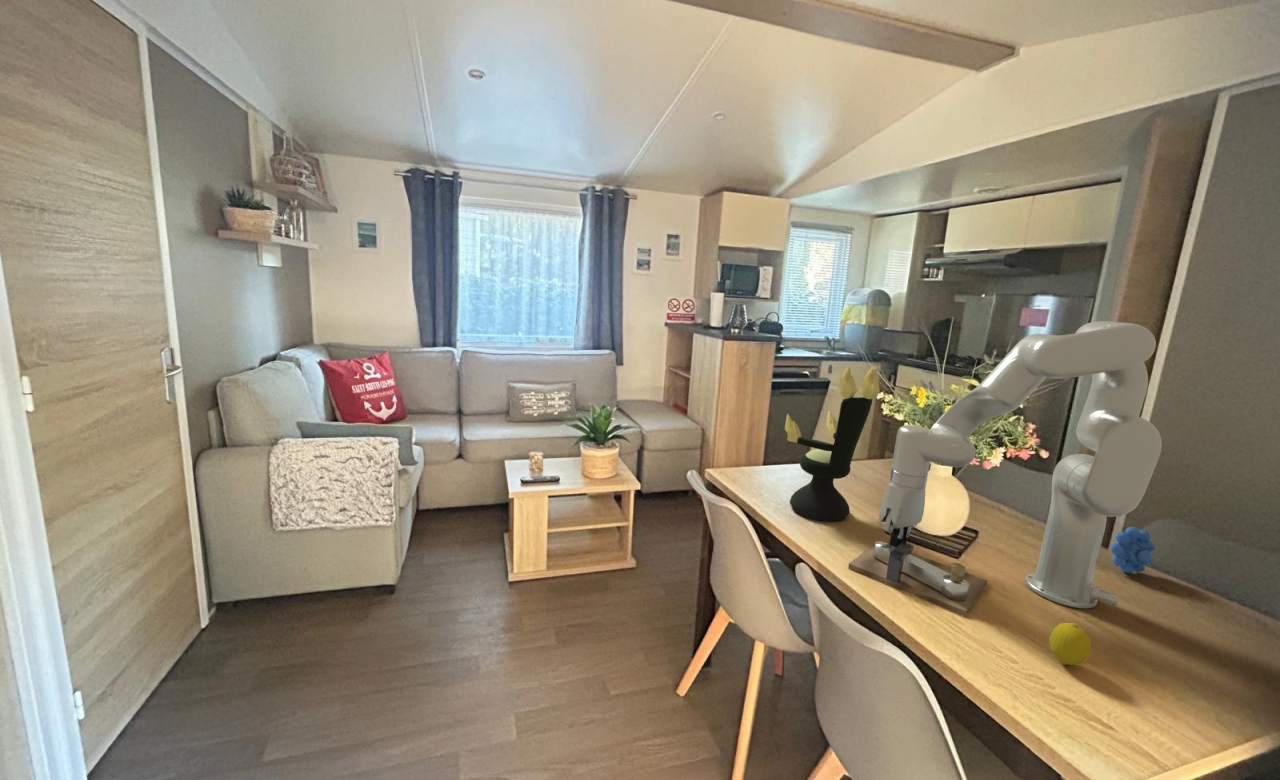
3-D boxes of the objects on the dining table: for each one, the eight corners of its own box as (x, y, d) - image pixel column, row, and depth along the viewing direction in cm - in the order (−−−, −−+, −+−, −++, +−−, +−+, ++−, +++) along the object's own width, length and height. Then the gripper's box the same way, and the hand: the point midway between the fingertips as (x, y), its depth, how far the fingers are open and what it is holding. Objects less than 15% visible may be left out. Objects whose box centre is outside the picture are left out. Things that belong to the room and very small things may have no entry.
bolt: (971, 597, 109) (974, 583, 108) (958, 602, 106) (961, 589, 106) (881, 551, 127) (882, 539, 126) (868, 555, 124) (870, 543, 124)
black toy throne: (817, 495, 166) (836, 355, 157) (879, 523, 147) (904, 366, 138) (774, 504, 156) (791, 355, 148) (834, 535, 137) (857, 367, 129)
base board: (986, 585, 117) (993, 552, 116) (965, 616, 104) (972, 580, 103) (877, 544, 134) (882, 515, 132) (848, 568, 121) (852, 536, 119)
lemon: (1092, 678, 89) (1103, 636, 87) (1056, 671, 90) (1066, 630, 88) (1073, 656, 94) (1082, 617, 93) (1038, 651, 95) (1047, 611, 94)
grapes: (1124, 583, 122) (1137, 535, 120) (1096, 568, 128) (1107, 522, 126) (1166, 582, 124) (1179, 535, 121) (1136, 567, 130) (1147, 522, 128)
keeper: (909, 570, 119) (914, 545, 118) (897, 583, 113) (901, 556, 112) (898, 566, 121) (902, 541, 120) (885, 578, 115) (890, 552, 114)
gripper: (914, 470, 128) (903, 539, 131) (872, 477, 121) (862, 549, 124) (943, 480, 121) (931, 553, 125) (901, 488, 114) (889, 564, 118)
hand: (896, 551), depth 125 cm, fingers closed
